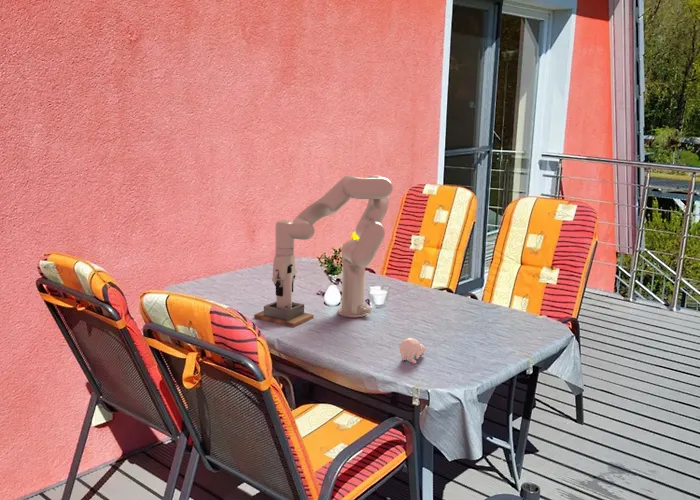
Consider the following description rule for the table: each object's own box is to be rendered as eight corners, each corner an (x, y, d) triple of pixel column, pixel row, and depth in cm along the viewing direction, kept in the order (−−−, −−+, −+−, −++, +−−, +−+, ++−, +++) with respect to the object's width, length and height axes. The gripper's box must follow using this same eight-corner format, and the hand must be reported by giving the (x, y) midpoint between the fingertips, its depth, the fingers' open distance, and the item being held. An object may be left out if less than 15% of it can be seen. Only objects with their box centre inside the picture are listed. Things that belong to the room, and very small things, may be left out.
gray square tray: (304, 313, 280) (304, 304, 279) (287, 321, 270) (287, 311, 269) (280, 308, 286) (280, 299, 285) (263, 315, 276) (263, 306, 275)
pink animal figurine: (398, 337, 233) (416, 332, 243) (396, 361, 235) (414, 355, 244) (414, 341, 230) (431, 336, 239) (412, 366, 231) (429, 359, 241)
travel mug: (289, 314, 274) (290, 266, 270) (274, 312, 275) (274, 265, 271) (294, 309, 280) (294, 262, 276) (279, 308, 281) (279, 261, 277)
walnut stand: (313, 318, 279) (313, 314, 279) (294, 327, 267) (294, 323, 267) (274, 309, 289) (274, 306, 289) (254, 318, 277) (254, 314, 277)
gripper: (289, 246, 281) (289, 287, 285) (264, 253, 267) (264, 297, 270) (304, 248, 278) (304, 290, 282) (279, 256, 263) (279, 300, 267)
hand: (284, 293), depth 276 cm, fingers open, 6 cm apart
